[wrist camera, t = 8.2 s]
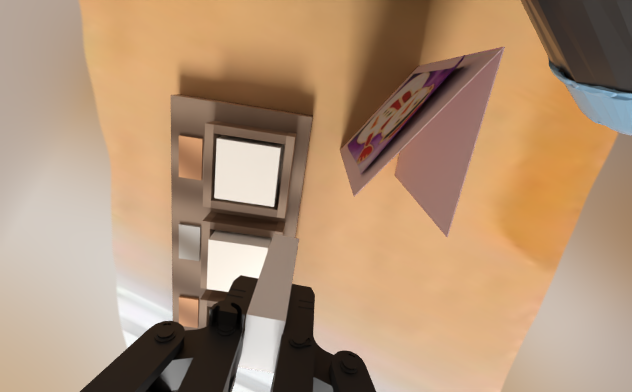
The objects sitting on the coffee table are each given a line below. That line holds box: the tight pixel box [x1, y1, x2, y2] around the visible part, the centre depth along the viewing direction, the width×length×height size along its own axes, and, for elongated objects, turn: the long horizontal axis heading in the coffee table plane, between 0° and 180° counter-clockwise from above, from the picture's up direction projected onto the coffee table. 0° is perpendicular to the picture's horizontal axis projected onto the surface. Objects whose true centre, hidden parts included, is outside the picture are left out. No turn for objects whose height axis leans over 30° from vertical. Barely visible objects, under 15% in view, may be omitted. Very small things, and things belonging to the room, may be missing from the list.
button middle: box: [207, 230, 271, 292], centre depth 33 cm, size 6×6×2 cm
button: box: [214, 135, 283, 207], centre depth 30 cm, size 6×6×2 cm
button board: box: [171, 95, 313, 330], centre depth 35 cm, size 32×14×4 cm, turn 171°
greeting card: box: [340, 47, 505, 237], centre depth 25 cm, size 11×7×15 cm, turn 138°
